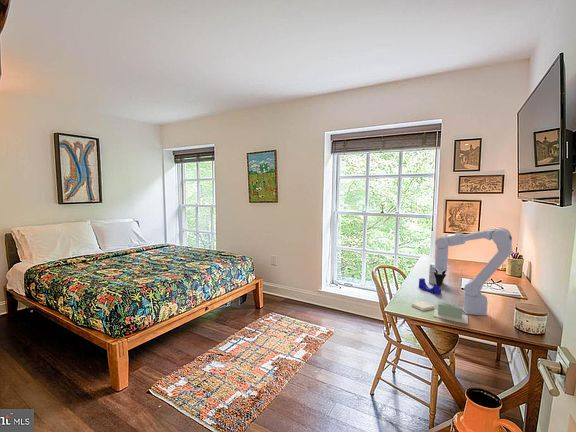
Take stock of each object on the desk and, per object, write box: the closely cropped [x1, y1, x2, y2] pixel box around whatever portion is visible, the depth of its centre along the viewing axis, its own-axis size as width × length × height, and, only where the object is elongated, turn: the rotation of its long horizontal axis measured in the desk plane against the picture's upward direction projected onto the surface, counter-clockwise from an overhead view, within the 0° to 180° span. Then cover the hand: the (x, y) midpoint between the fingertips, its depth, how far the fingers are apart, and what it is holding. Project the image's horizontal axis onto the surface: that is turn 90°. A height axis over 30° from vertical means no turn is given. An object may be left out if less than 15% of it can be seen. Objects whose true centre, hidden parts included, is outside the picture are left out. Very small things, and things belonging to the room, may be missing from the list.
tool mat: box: [433, 308, 469, 325], centre depth 140 cm, size 14×9×1 cm, turn 60°
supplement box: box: [428, 261, 445, 285], centre depth 187 cm, size 7×7×13 cm
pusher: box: [437, 301, 463, 319], centre depth 140 cm, size 10×3×5 cm, turn 60°
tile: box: [411, 300, 435, 312], centre depth 150 cm, size 2×7×8 cm
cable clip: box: [418, 277, 442, 296], centre depth 174 cm, size 12×4×6 cm, turn 24°
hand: (439, 284), depth 155 cm, fingers open, 7 cm apart
